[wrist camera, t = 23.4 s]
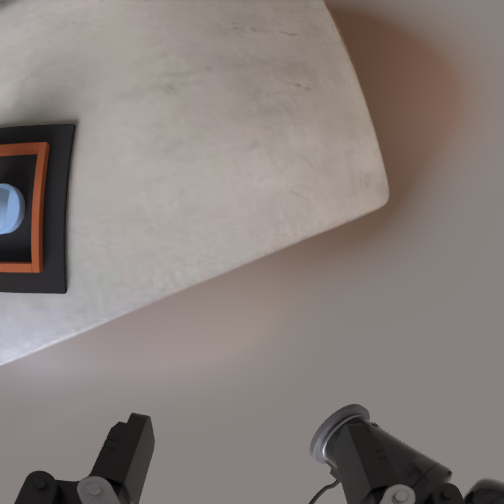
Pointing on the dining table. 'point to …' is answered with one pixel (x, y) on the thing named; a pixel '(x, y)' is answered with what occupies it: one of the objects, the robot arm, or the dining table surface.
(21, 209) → the spotlight
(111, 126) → the dining table surface
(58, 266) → the pad
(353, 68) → the dining table surface
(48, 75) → the dining table surface
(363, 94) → the dining table surface
